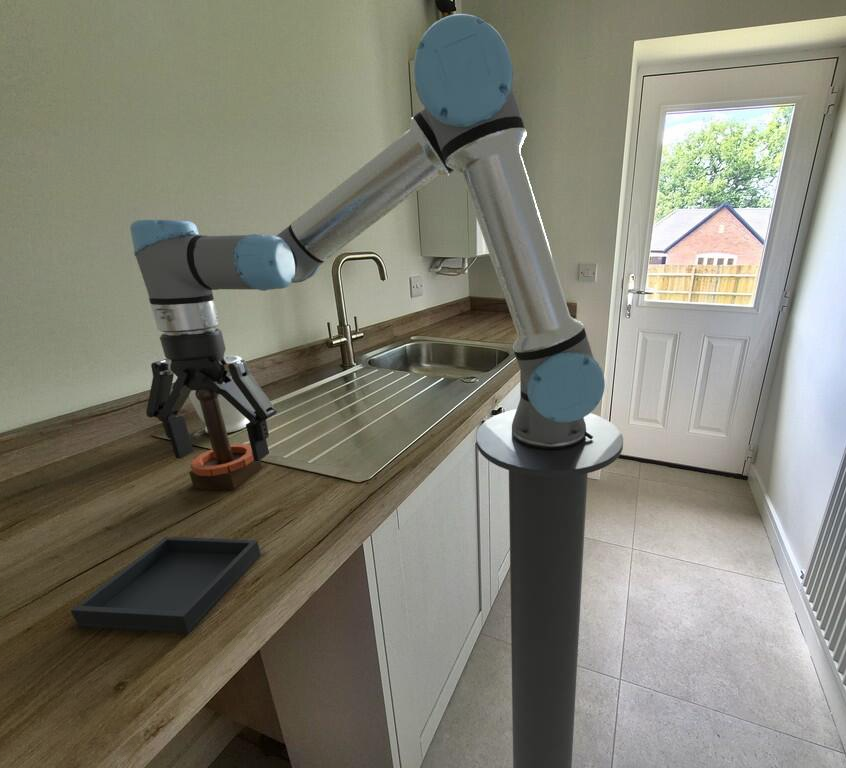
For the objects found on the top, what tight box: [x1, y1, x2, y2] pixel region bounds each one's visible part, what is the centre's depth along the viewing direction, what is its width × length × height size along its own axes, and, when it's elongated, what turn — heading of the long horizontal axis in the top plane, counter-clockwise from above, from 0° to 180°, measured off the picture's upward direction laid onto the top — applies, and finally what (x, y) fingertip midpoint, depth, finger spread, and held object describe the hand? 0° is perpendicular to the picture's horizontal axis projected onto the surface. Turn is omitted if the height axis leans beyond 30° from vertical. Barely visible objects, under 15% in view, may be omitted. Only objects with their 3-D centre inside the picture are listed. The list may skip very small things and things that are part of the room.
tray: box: [70, 536, 261, 635], centre depth 47 cm, size 12×11×2 cm
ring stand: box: [189, 389, 263, 491], centre depth 67 cm, size 7×7×17 cm
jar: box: [188, 355, 250, 434], centre depth 87 cm, size 11×10×15 cm
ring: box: [190, 443, 254, 476], centre depth 68 cm, size 9×9×1 cm
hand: (223, 456), depth 68 cm, fingers open, 13 cm apart
